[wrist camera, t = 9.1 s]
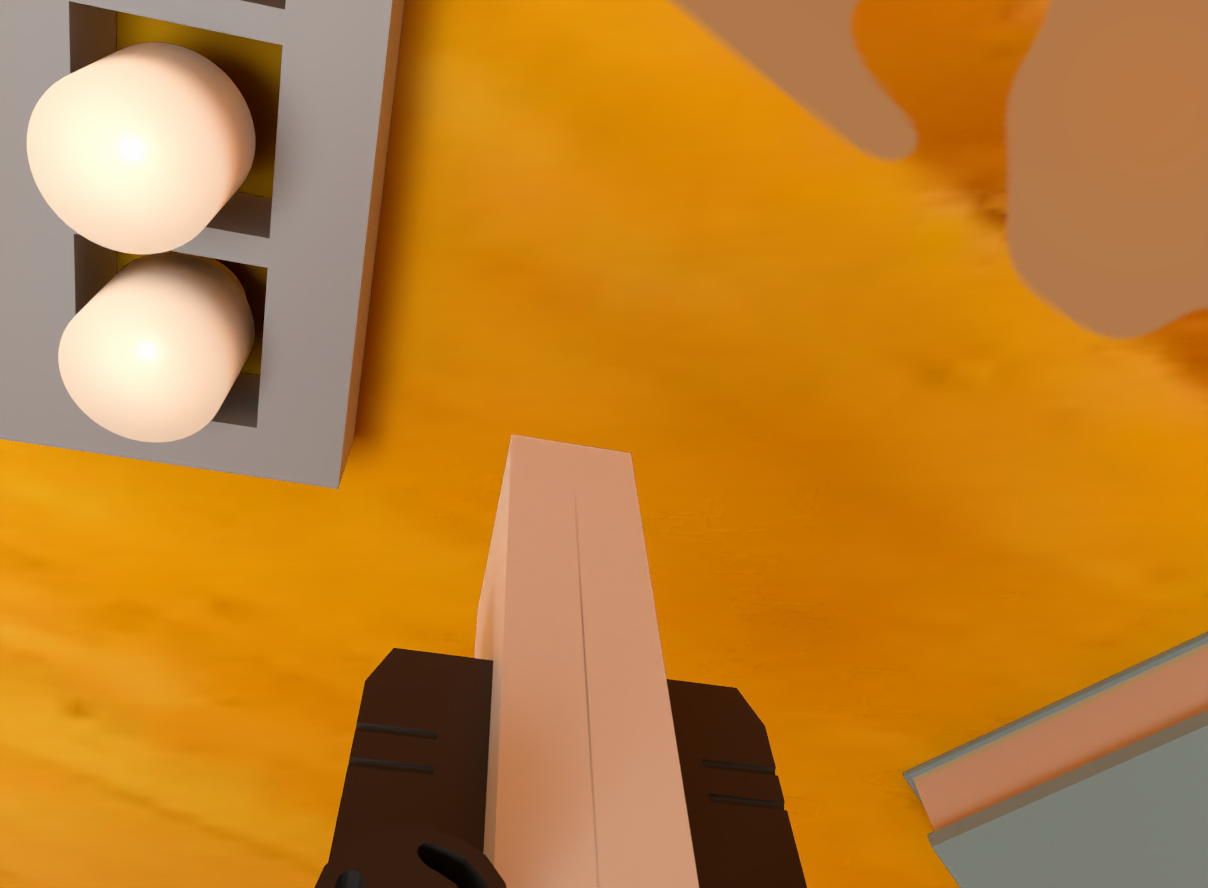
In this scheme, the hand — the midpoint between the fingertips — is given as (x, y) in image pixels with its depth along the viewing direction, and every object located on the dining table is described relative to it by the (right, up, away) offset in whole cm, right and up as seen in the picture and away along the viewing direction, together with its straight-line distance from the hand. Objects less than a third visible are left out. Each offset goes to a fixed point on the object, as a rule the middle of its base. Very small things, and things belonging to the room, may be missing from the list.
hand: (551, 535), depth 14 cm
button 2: (-14, +6, +25) cm, 29 cm away
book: (+29, -15, +41) cm, 53 cm away
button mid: (-12, +11, +20) cm, 26 cm away
